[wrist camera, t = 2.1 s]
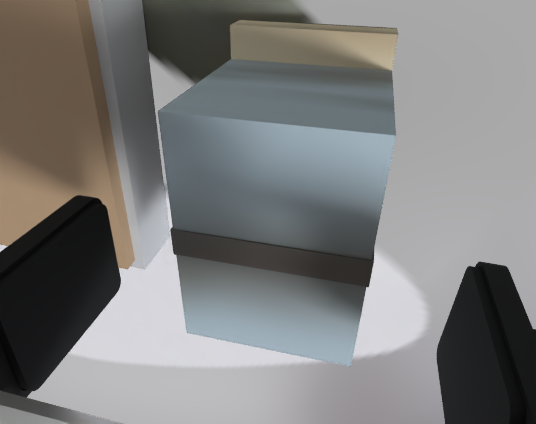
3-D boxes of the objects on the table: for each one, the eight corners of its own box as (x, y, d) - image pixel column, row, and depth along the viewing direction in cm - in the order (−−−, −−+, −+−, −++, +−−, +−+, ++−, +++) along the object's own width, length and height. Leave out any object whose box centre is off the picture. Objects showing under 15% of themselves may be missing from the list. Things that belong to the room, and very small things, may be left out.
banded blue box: (239, 19, 14) (148, 64, 8) (398, 28, 13) (408, 84, 7) (243, 239, 19) (187, 354, 13) (359, 257, 18) (348, 390, 12)
